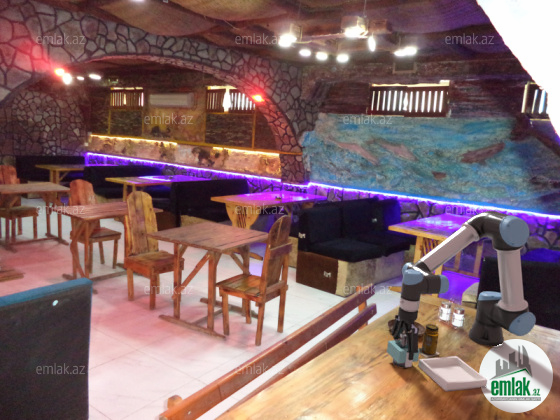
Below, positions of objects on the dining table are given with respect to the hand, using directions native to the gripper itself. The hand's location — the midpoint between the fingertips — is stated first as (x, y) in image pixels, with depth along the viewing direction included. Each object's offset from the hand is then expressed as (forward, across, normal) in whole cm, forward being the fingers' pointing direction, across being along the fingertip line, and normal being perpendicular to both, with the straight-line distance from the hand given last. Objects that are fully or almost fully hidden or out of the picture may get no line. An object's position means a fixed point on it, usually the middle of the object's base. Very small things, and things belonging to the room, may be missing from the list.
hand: (401, 360), depth 182 cm
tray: (+1, +12, +15) cm, 19 cm away
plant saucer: (+2, -27, +19) cm, 33 cm away
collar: (-2, 0, 0) cm, 2 cm away
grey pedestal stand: (+1, 0, 0) cm, 1 cm away
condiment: (+2, -7, +17) cm, 18 cm away
